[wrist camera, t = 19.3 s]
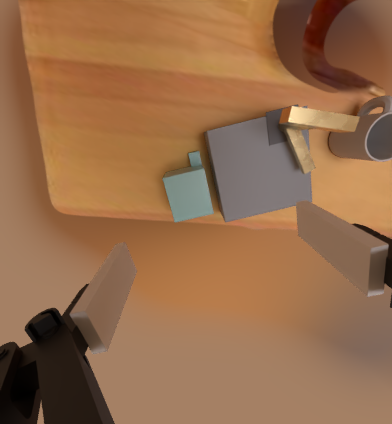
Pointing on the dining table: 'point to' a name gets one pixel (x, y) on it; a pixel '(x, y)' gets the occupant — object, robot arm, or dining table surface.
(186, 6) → the dining table surface
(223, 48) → the dining table surface
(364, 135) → the cup
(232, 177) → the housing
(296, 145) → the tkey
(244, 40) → the dining table surface
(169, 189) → the cover
